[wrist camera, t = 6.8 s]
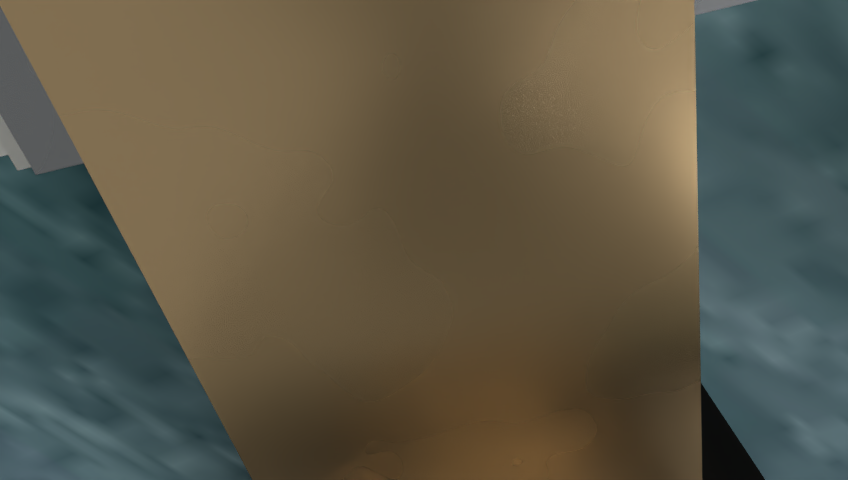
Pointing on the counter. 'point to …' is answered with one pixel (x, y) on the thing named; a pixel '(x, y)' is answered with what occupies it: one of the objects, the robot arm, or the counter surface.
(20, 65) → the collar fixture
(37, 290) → the counter surface
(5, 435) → the counter surface
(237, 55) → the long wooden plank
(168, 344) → the counter surface
